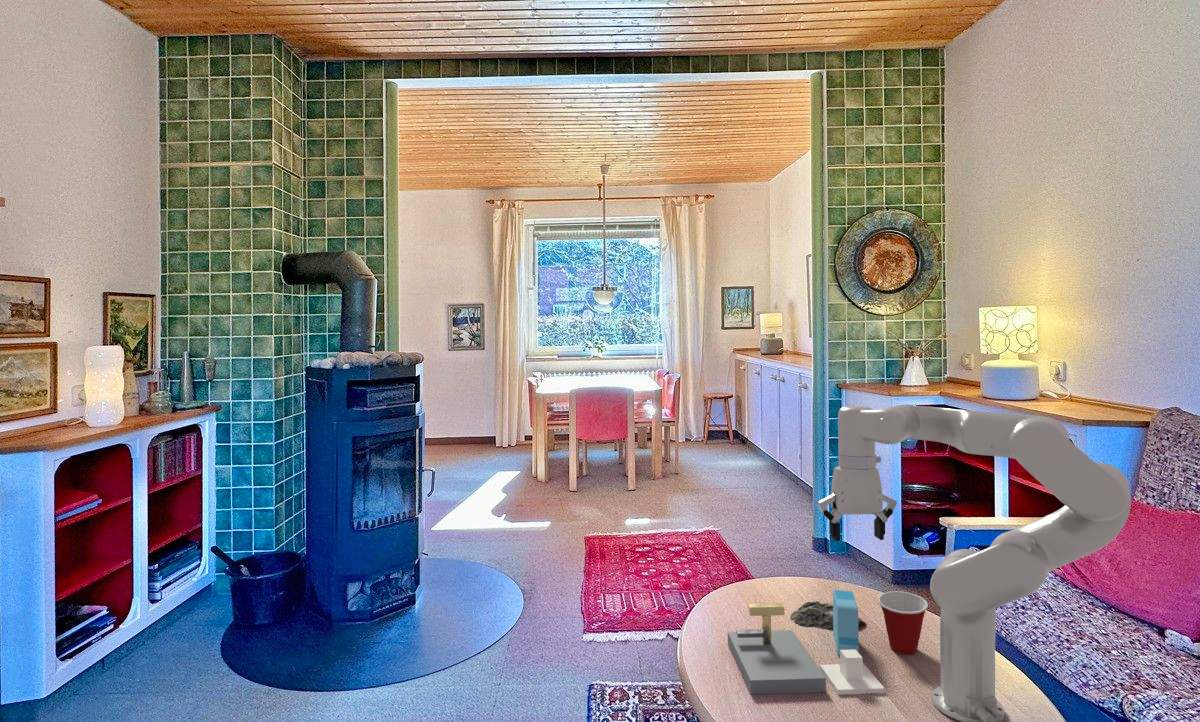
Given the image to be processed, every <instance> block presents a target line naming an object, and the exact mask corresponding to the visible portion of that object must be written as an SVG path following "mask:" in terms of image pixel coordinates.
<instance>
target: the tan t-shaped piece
mask: <svg viewBox="0 0 1200 722" xmlns="http://www.w3.org/2000/svg"><path fill="white" fill-rule="evenodd" d="M747 606H748V607H747V608H748V614H749V615H750V616H752V617H755V616H756V617H761V626H762V627H761V628H758V629H756V628H755V629H736V630H735V632H736V634H737V637H738V638H757V637H762V642H763V643H765V644H770V643H771V631H772V616H785V611H786V610H785V606H784V604H783V603H782V602H779V603H775V602H774V603H748V605H747Z"/></svg>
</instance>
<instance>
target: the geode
mask: <svg viewBox="0 0 1200 722" xmlns="http://www.w3.org/2000/svg"><path fill="white" fill-rule="evenodd" d="M790 620H791V621H792V620H794V621H795V622H794V621H793V622H794V623H795V625H797V624H798V626H800V627H803V628H806V629H807V628H810V627H813V626H814V628H817V629H823V630H831V629H833V604H830V603H828V602H825V603H821V602H820V601H818V600H815V601H808V602H807V601H806V602H805V603H803V604H802V605H801V606H799V607H798V608H797V610H795V611H793V612H792V613H791V614H790ZM865 625H867V623H866V622H865V621H864V620H862V619H861V618H860V617H858V628H859V629H861V627H862V626H865ZM860 626H861V627H860Z"/></svg>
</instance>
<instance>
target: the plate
mask: <svg viewBox="0 0 1200 722" xmlns="http://www.w3.org/2000/svg"><path fill="white" fill-rule="evenodd" d="M727 645H728V648H729V650H730V652H731V654H732V656H733V658H734V661H735V663H736V665H737V667H738V669H739V671H740V674H741V676H742V678H743V680H744V682H745V684H746V687H747V690H748V691H749V694H750V695H773V694H776V695H777V694H804V693H805V694H807V693H808V694H809V693H826V692H827V679H826V678H825V676H824V675H823V673H822V672H821V671H820V667H819V666H818V665H817V664H816V662H815V661H814V659H813V657H811V655H810V653H809V652H808V651H807V650H806V648H805V646H804V645H803V644H802V642H801V641H800V639H799V637H797V635H796V634H795V631H793V630H792V629H787V630H785V629H784V630H771V643H770V644H765V643H763V642H762V637H757V638H738V637H737V634H736V631H727Z"/></svg>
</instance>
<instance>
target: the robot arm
mask: <svg viewBox="0 0 1200 722" xmlns="http://www.w3.org/2000/svg"><path fill="white" fill-rule="evenodd" d="M837 420H838V421H837V431H838V434H837V435H838V437H837V438H838V439H837V441H838V443H837V444H838V445H837V446H838V447H837V448H838V466H835V467H834V470H833V473H832V481H831V487H830V494H829V495H828V496H826V497H824V498H822V499H820V500H819V501H817V506H818V508H819V511H821V514H822V515H823V516H824V517H826V519H827V520H828V521H829V535H830V537H831V538H832V540H834V541H836V542H840V541H841V524H840V523H839V521H840V520H841V519H842V517H843V515H846V516H850V515H853V516H854V515H855V516H856V515H857V516H858V515H874V516H875V517H876V518H874V520H873V527H874V528H873V529H874V530H873V532H874V533H873V534H874V535H873V536H874V537H875V538H877V539H878V540H880V541H884V539H885V535H886V523H887V522H888V519H889V518H890V517H891V516H892V515H893V513H894V510H895V509H896V506H897V504H898V500H895V499H893V498H891V497H889V496H888V495H886V494H883V488H882V481H881V477H880V472H879V468H877V464H878V463H881V462H882V457H881V456H878V455H876V443H879V444H883V445H897V444H900V443H901V442H903V441H906V440H907V439H908V440H920V441H921V440H922V441H930V442H937V443H942V444H946V445H950V446H951V447H954V448H956V449H957V450H959V451H961V452H962V453H966V454H971V455H978V456H979V455H980V456H991V457H1000V458H1009V459H1013V460H1014V459H1015V460H1016V462H1018V464H1020V465H1021V466H1022V468H1024V469H1025V471H1027V472H1028V473H1029V474H1030V475H1031V476H1032V477H1034V479H1035V480H1037V482H1039V483H1040V484H1041V485H1042V486H1044V487H1045V489H1046V490H1048V491H1049V492H1050V493H1051V494H1052V495H1054V496H1055V498H1057V499H1058V500H1059V501H1060V502H1061V503H1062V504H1063V506H1062V507H1061V508H1059V509H1058V510H1056V511H1053V512H1052V513H1049V514H1047V515H1045V516H1043V517H1041V518H1038V519H1036V520H1034V521H1031V522H1029V523H1027V524H1024V525H1022V526H1019V527H1016V528H1014V529H1011V530H1008V531H1005V532H1002V533H1001V534H999V535H998V536H997V537H995V539H994V540H993V541H992V542H991V544H990V545H989V546H988V547H986V548H984V549H982V550H979V551H977V550H973V549H969V548H967V549H966V548H962V549H956V550H954V551H952V552H950V553H949V554H948V555H946V556H945V557H944V558H943V560H942V561H941V562H940V564H939V565H938V566H937V568H936V569H935V570H934V572H933V573H932V576H931V578H930V582H929V589H930V594H931V596H932V598H933V600H934V602H935V603H936V605H938V607H940V610H939V611H940V620H939V621H940V624H939V630H940V631H939V632H940V633H939V639H940V640H939V641H940V642H939V643H940V644H939V645H940V647H939V649H940V650H939V651H940V652H939V653H940V654H939V655H940V661H939V662H940V666H939V667H940V668H939V669H940V671H939V672H940V675H939V676H940V678H939V679H940V686H937V687H936V688H934V690H932V693H931V700H932V701H931V702H932V703H933V705H934V706H935V708H937V710H939V711H940V712H941V713H943V714H944V715H946V716H948V717H950V718H951V719H954V720H956V721H959V722H1003V721H1004V719H1005V714H1006V713H1005V708H1004V706H1003V705H1002V703H1001V702H1000V701H998V699H997V698H996V617H997V616H996V614H997V613H996V611H997V608H999V607H1001V606H1004V605H1008V604H1009V603H1012V602H1015V601H1018V600H1020V599H1024V598H1025V597H1028V596H1030V595H1032V594H1033V593H1035V592H1036V591H1038V590H1039V589H1040V588H1041V587H1042V586H1043V584H1044V583H1045V581H1046V580H1047V577H1048V575H1049V573H1051V572H1052V571H1054V570H1057V569H1058V568H1061V567H1063V566H1066V565H1068V564H1071V563H1074V562H1076V561H1077V560H1079V559H1082V558H1084V557H1088V556H1089V555H1092V554H1093V553H1094V554H1095V553H1096V552H1098V551H1099V550H1101V549H1103V548H1105V547H1106V546H1107V545H1109V544H1110V543H1111V542H1112V541H1114V539H1115V538H1117V536H1118V535H1119V534H1120V533H1121V531H1122V529H1124V527H1125V524H1126V523H1127V520H1128V518H1129V515H1130V512H1131V505H1132V496H1131V488H1130V483H1129V480H1128V478H1127V477H1126V476H1125V474H1124V473H1123V472H1122V471H1121V470H1120V469H1118V468H1117V467H1116V466H1114V465H1111V464H1109V463H1105V462H1101V461H1100V462H1098V461H1094V460H1092V459H1091V458H1090V457H1089V456H1088V455H1086V454H1085V452H1083V451H1082V450H1081V449H1080V448H1079V447H1078V446H1076V445H1075V444H1074V442H1072V441H1071V440H1070V434H1069V432H1068V430H1067V428H1066V427H1065V425H1064V424H1063V423H1061V422H1060V421H1059V420H1058V419H1056V418H1053V417H1049V416H1044V415H1033V414H1023V413H1022V414H1021V413H1009V412H1008V413H1005V412H993V411H992V412H991V411H981V410H980V411H979V410H970V409H969V410H967V409H961V408H960V409H955V408H947V407H937V406H936V407H935V406H926V405H911V404H898V405H893V406H890V407H885V408H883V409H881V408H880V409H873V408H872V407H869V406H864V405H846V406H842V407H841V408H840V409H839V410H838V414H837ZM883 502H885V503H886V507H884V509H883V506H884V505H883V504H884V503H883ZM828 505H830V507H831V509H832V510H831V512H830V511H829V509H828V507H827V506H828Z"/></svg>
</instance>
